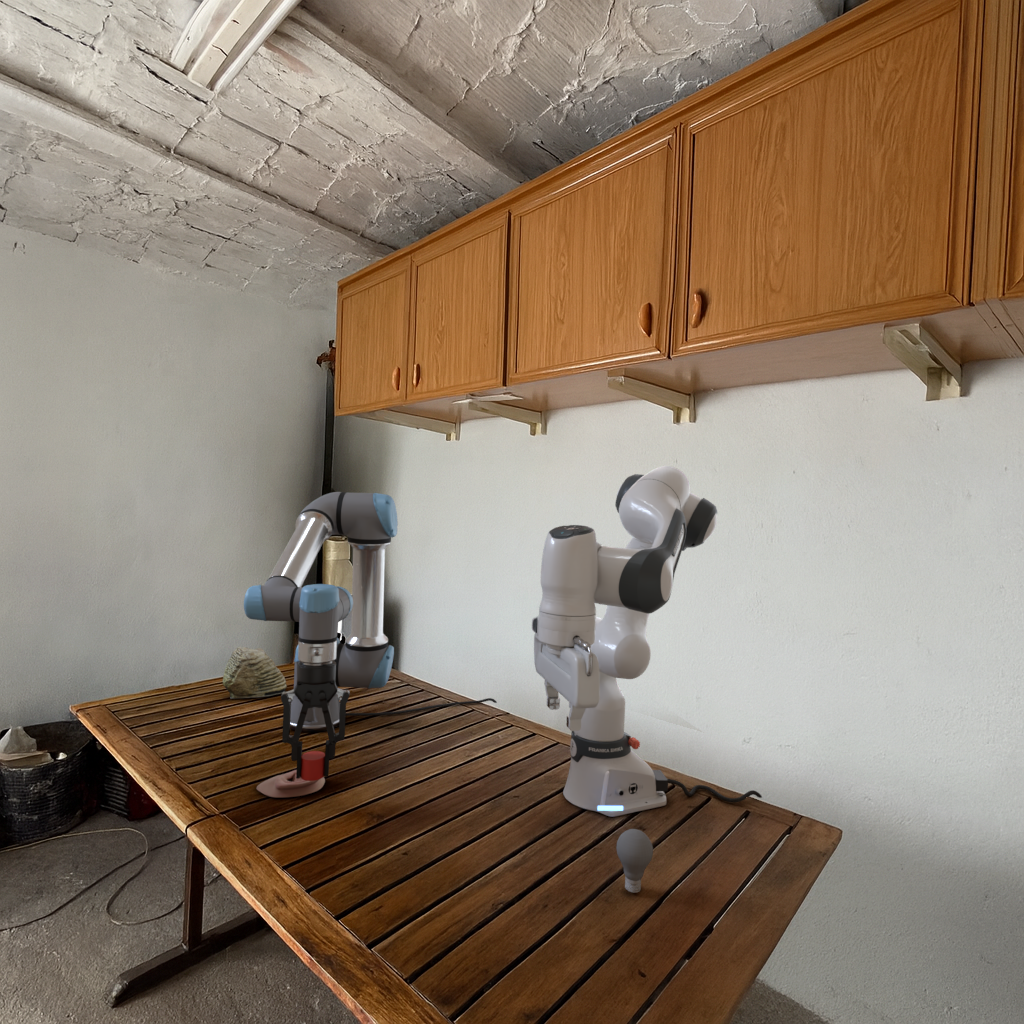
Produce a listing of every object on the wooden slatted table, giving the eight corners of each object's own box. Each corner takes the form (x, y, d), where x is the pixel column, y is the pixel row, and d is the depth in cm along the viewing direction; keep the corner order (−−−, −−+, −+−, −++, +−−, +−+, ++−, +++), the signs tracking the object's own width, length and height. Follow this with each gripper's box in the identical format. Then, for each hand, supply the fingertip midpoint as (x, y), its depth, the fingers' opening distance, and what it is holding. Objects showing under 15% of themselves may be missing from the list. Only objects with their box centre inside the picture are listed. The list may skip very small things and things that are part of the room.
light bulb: (610, 879, 108) (613, 822, 108) (644, 879, 109) (647, 822, 109) (619, 902, 102) (622, 840, 102) (655, 901, 103) (658, 840, 103)
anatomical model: (248, 775, 133) (279, 754, 144) (247, 794, 133) (278, 771, 144) (306, 783, 130) (332, 761, 142) (305, 802, 130) (332, 779, 142)
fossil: (218, 695, 195) (220, 647, 195) (278, 685, 208) (279, 640, 207) (228, 703, 189) (230, 653, 188) (289, 692, 201) (290, 645, 201)
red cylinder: (295, 779, 128) (296, 758, 128) (308, 769, 132) (309, 749, 132) (316, 782, 127) (317, 761, 126) (328, 772, 131) (329, 752, 131)
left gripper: (268, 666, 123) (263, 785, 124) (362, 665, 127) (357, 779, 128) (273, 657, 130) (268, 769, 131) (361, 655, 135) (357, 764, 135)
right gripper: (613, 645, 89) (608, 742, 89) (563, 617, 109) (560, 697, 109) (570, 645, 88) (566, 745, 88) (528, 617, 107) (525, 698, 108)
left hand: (312, 774), depth 129 cm, fingers closed on red cylinder, 5 cm apart
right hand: (562, 718), depth 99 cm, fingers open, 8 cm apart
